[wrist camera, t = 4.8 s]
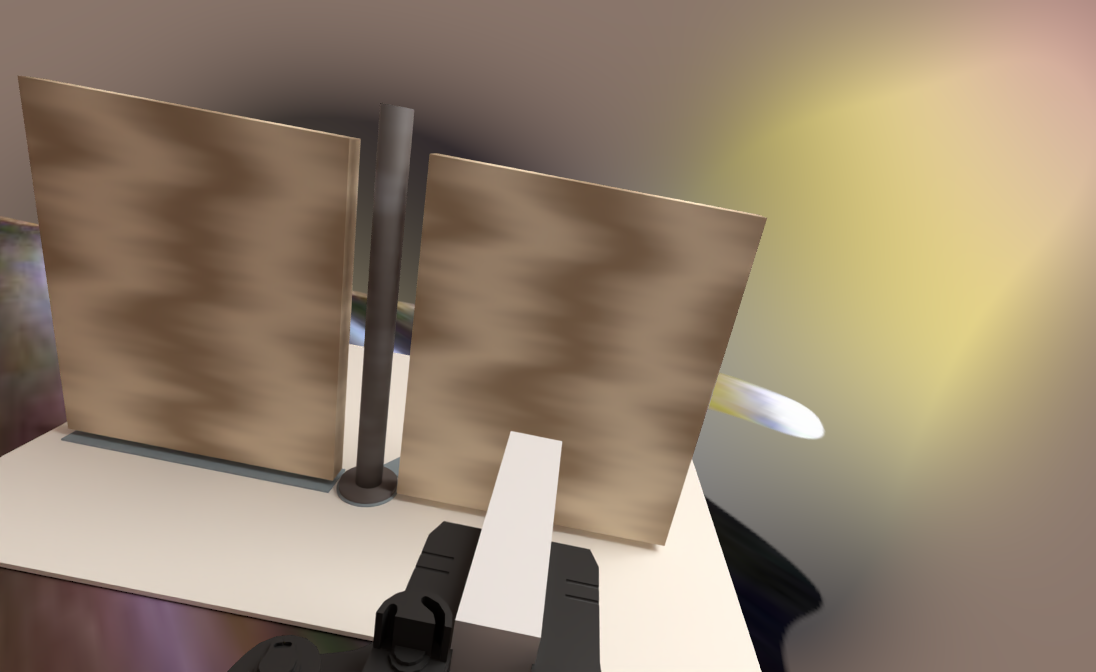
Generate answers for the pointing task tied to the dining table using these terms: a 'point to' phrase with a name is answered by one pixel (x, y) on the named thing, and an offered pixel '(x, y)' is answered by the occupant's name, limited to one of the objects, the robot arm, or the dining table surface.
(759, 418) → the dining table surface
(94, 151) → the panel
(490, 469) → the fence gate
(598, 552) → the card
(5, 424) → the dining table surface
